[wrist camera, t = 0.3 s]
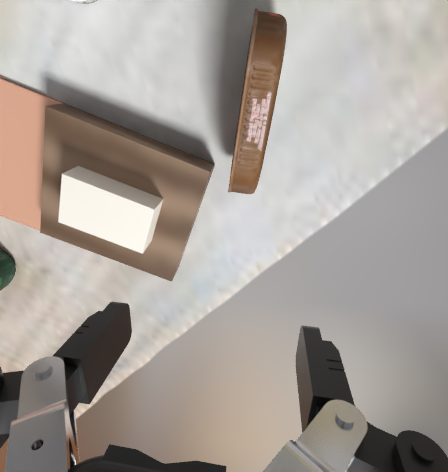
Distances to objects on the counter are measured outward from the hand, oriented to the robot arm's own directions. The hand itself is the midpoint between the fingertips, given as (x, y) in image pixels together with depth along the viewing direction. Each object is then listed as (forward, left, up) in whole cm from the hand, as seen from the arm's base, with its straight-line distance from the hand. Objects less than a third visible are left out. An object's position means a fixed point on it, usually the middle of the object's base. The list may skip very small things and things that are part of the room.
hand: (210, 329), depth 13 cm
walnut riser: (+8, -13, -23) cm, 28 cm away
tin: (-7, -2, -24) cm, 25 cm away
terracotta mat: (+9, -28, -23) cm, 38 cm away
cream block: (+8, -13, -20) cm, 25 cm away
